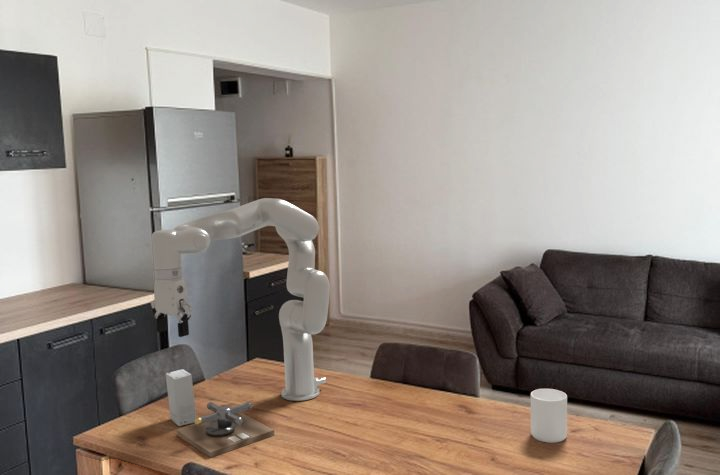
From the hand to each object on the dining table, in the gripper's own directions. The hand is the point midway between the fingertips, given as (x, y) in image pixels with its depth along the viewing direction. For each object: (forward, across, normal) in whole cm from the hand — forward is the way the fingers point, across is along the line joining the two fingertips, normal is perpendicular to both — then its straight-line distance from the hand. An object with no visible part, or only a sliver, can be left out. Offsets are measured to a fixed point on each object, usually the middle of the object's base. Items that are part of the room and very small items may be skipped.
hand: (172, 333), depth 187 cm
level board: (+30, -12, -6) cm, 33 cm away
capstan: (+28, -12, -6) cm, 31 cm away
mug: (+30, -88, -56) cm, 108 cm away
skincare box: (+30, +7, -6) cm, 31 cm away
